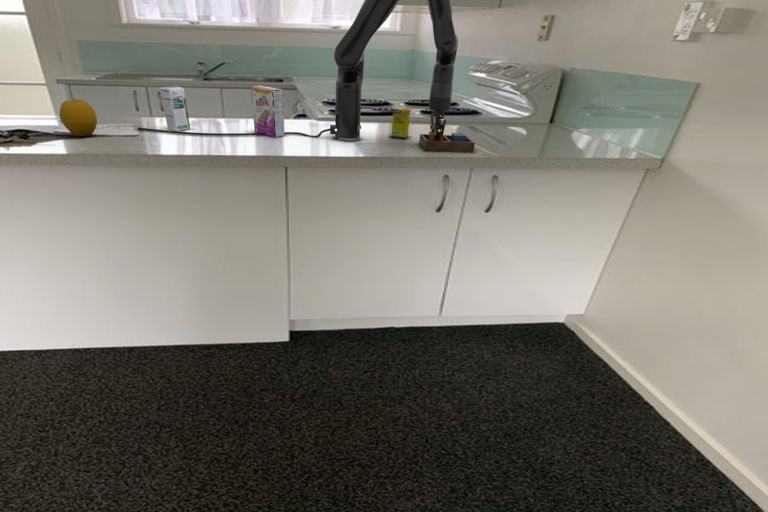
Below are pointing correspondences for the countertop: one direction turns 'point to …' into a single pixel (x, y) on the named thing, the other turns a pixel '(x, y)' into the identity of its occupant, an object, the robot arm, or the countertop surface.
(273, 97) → the candy bar box
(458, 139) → the blue block
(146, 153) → the countertop surface
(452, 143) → the sorting tray
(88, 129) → the apple
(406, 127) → the supplement box
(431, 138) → the terracotta block
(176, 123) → the syrup box
